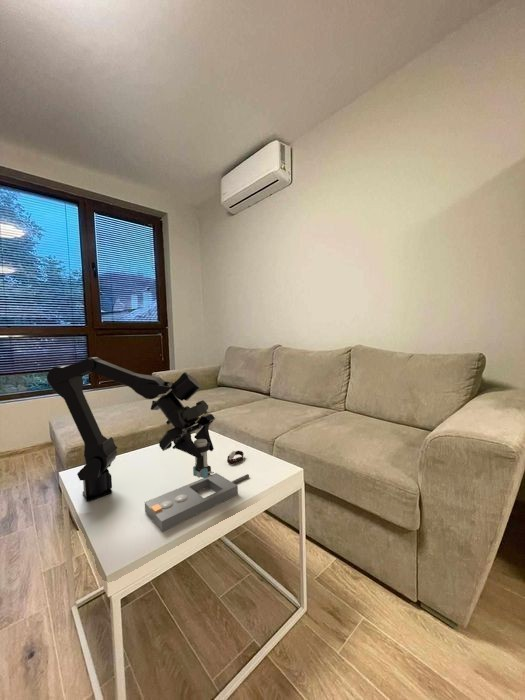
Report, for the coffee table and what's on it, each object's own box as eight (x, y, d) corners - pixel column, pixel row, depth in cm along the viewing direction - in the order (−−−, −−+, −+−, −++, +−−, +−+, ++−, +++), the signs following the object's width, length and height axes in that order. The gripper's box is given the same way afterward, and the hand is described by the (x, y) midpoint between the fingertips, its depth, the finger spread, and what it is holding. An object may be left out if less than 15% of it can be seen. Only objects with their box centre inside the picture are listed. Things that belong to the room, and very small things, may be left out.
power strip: (162, 531, 66) (161, 519, 65) (145, 511, 74) (144, 500, 74) (260, 483, 86) (259, 473, 86) (238, 471, 94) (238, 462, 94)
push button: (218, 474, 81) (217, 439, 80) (207, 482, 76) (206, 446, 76) (200, 469, 84) (198, 436, 83) (188, 478, 79) (186, 443, 79)
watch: (236, 455, 107) (236, 446, 107) (247, 458, 105) (246, 448, 105) (223, 463, 101) (223, 453, 100) (234, 466, 98) (234, 456, 98)
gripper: (165, 400, 72) (202, 449, 68) (209, 387, 89) (240, 426, 85) (144, 427, 76) (177, 475, 72) (190, 410, 93) (219, 448, 89)
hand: (206, 453), depth 79 cm, fingers closed on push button, 5 cm apart
